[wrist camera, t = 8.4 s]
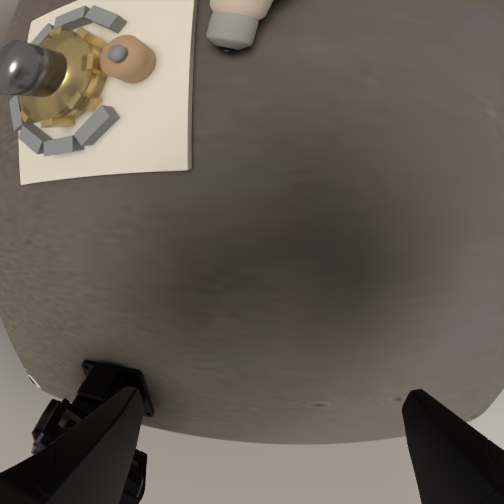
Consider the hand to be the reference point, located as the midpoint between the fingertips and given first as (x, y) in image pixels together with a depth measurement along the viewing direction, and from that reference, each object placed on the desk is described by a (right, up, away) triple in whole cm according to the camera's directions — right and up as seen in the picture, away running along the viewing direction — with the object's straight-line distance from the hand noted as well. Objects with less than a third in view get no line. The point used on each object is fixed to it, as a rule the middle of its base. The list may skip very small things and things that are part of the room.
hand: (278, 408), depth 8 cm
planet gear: (-13, +16, +6) cm, 22 cm away
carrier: (-11, +17, +7) cm, 21 cm away
